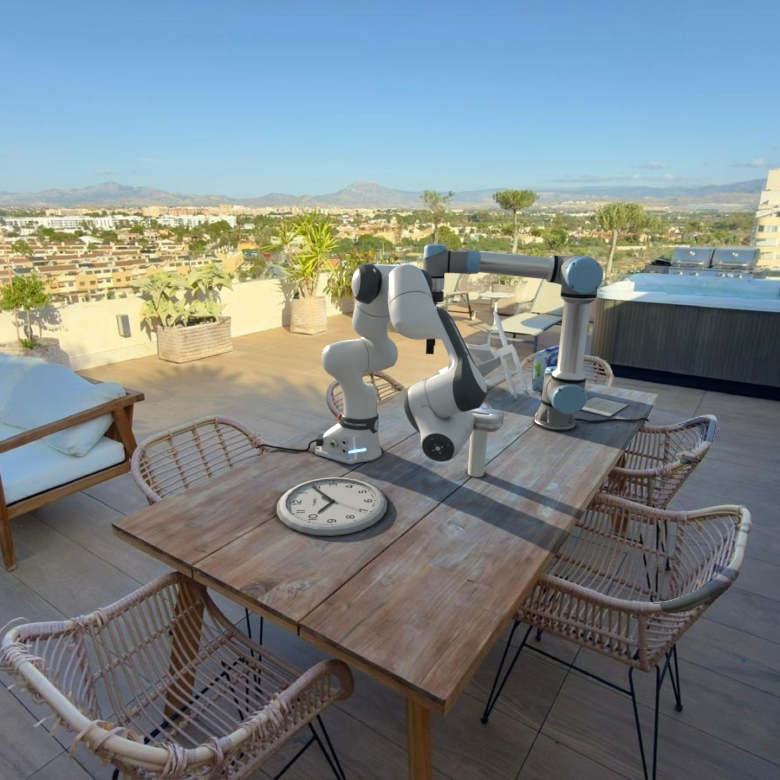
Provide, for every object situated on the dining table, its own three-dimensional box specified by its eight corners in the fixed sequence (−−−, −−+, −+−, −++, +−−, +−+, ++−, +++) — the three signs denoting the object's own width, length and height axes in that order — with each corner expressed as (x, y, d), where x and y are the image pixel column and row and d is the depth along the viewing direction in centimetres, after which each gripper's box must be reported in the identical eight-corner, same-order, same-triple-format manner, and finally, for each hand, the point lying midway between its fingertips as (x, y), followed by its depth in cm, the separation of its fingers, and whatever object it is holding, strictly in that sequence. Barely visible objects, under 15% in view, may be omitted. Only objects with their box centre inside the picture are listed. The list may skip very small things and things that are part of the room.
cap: (483, 416, 154) (484, 409, 153) (469, 412, 156) (470, 406, 156) (490, 412, 157) (491, 405, 157) (477, 408, 160) (477, 402, 159)
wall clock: (392, 527, 129) (268, 531, 127) (391, 533, 130) (269, 537, 127) (383, 473, 158) (282, 475, 155) (383, 478, 158) (282, 480, 156)
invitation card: (608, 416, 214) (573, 407, 224) (608, 416, 214) (573, 408, 224) (628, 404, 229) (594, 396, 238) (628, 405, 229) (594, 397, 238)
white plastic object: (461, 429, 252) (437, 405, 227) (444, 352, 274) (420, 323, 250) (535, 404, 240) (518, 377, 215) (510, 326, 262) (492, 293, 237)
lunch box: (548, 398, 236) (553, 353, 229) (527, 393, 243) (531, 349, 237) (575, 387, 253) (581, 344, 247) (555, 382, 260) (560, 341, 254)
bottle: (479, 478, 160) (484, 410, 153) (464, 474, 162) (469, 407, 156) (486, 472, 163) (492, 406, 157) (472, 468, 166) (477, 403, 160)
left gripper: (500, 417, 120) (509, 399, 132) (415, 405, 127) (431, 390, 139) (498, 442, 122) (507, 423, 134) (414, 430, 129) (430, 412, 141)
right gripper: (424, 286, 195) (422, 342, 201) (420, 294, 171) (417, 357, 177) (444, 286, 194) (441, 342, 200) (443, 294, 170) (440, 358, 176)
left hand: (468, 406), depth 137 cm, fingers open, 8 cm apart
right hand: (430, 349), depth 189 cm, fingers open, 13 cm apart
